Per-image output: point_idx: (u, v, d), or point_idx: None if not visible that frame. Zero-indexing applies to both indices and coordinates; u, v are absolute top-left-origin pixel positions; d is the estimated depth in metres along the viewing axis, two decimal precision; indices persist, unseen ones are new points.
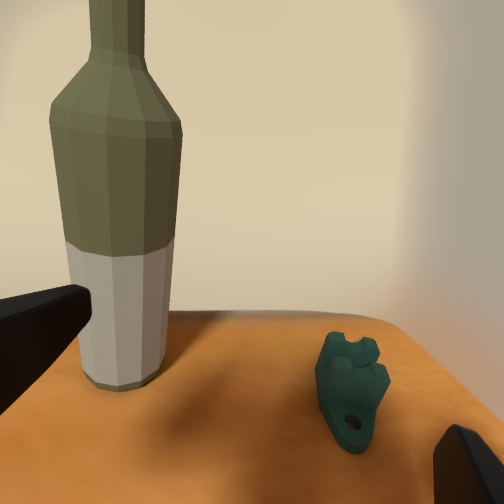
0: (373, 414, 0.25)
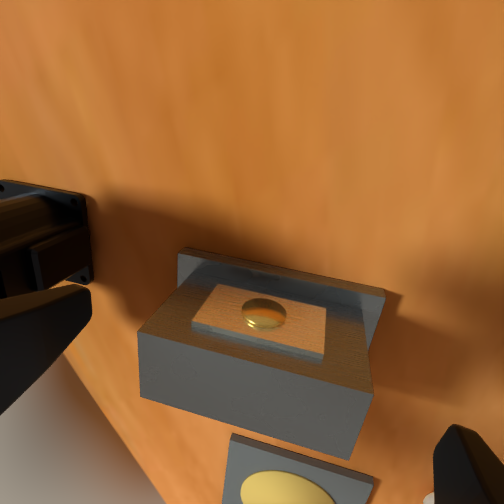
0: None
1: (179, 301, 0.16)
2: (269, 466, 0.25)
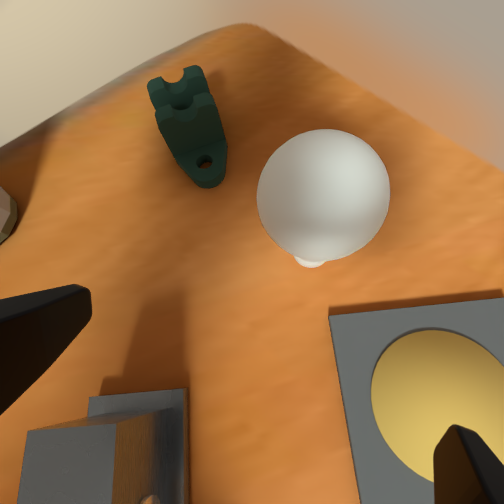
0: (222, 144, 0.26)
1: None
2: (382, 450, 0.17)
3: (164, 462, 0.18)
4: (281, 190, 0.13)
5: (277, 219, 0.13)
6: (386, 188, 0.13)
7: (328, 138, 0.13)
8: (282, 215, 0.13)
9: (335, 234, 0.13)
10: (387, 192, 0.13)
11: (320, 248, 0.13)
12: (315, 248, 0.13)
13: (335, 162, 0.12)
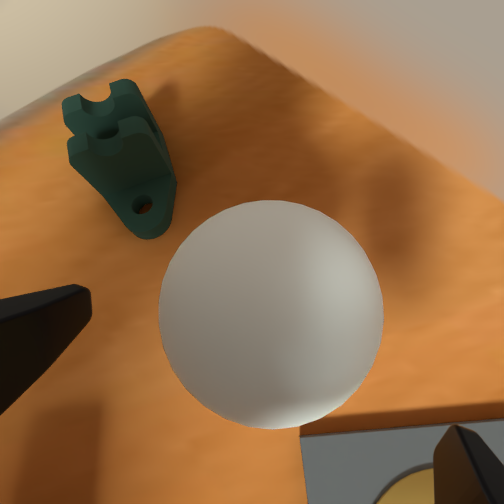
0: (167, 181, 0.20)
1: None
2: None
3: None
4: (179, 329, 0.07)
5: (179, 372, 0.07)
6: (376, 319, 0.07)
7: (265, 232, 0.07)
8: (184, 371, 0.07)
9: (279, 415, 0.07)
10: (378, 325, 0.07)
11: (257, 425, 0.07)
12: (248, 425, 0.07)
13: (274, 287, 0.06)
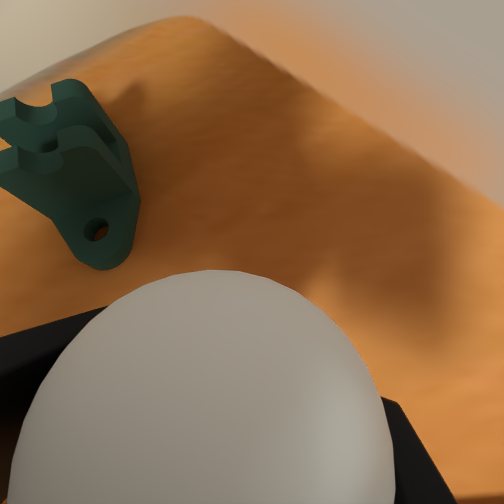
0: (127, 201, 0.16)
1: None
2: None
3: None
4: None
5: None
6: None
7: (174, 378, 0.04)
8: None
9: None
10: None
11: None
12: None
13: None
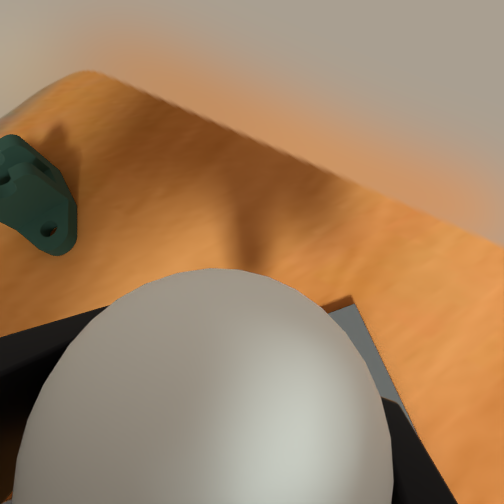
0: (66, 206, 0.24)
1: None
2: None
3: None
4: None
5: None
6: None
7: (180, 375, 0.04)
8: None
9: None
10: None
11: None
12: None
13: None
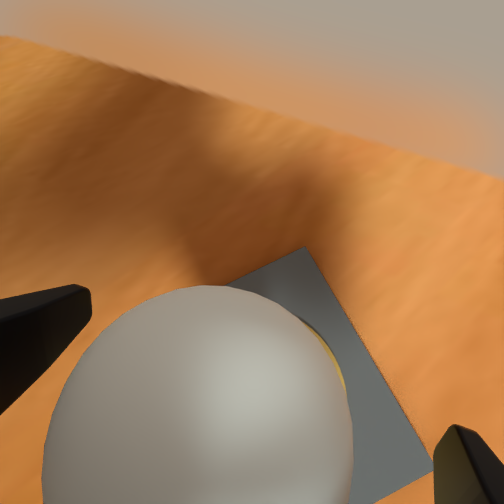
0: None
1: None
2: None
3: None
4: None
5: None
6: (338, 487, 0.05)
7: (172, 376, 0.05)
8: None
9: None
10: (342, 491, 0.05)
11: None
12: None
13: (173, 483, 0.04)
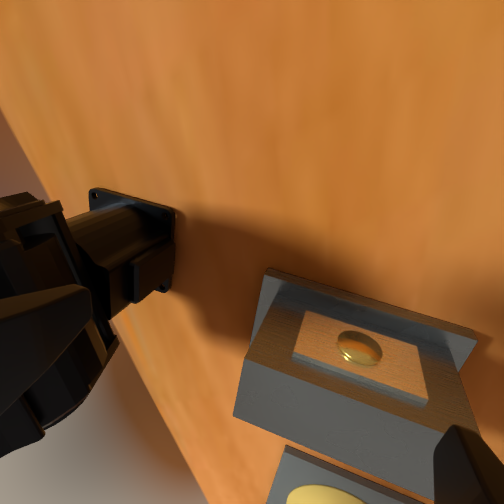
0: None
1: (273, 327, 0.17)
2: (320, 481, 0.26)
3: None
4: None
5: None
6: None
7: None
8: None
9: None
10: None
11: None
12: None
13: None
